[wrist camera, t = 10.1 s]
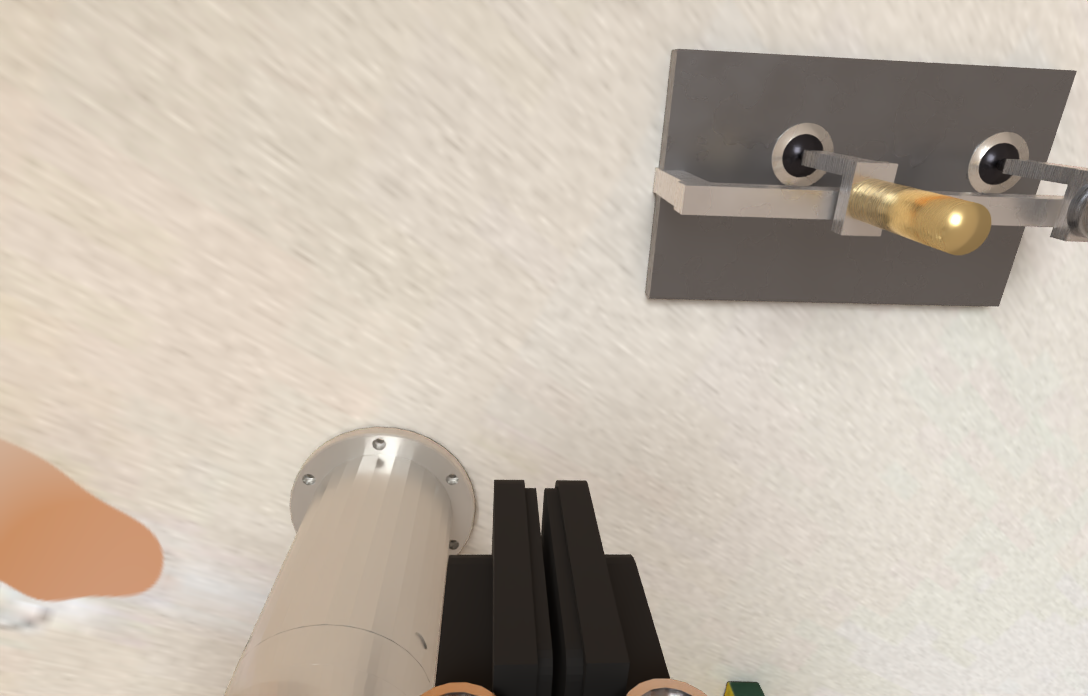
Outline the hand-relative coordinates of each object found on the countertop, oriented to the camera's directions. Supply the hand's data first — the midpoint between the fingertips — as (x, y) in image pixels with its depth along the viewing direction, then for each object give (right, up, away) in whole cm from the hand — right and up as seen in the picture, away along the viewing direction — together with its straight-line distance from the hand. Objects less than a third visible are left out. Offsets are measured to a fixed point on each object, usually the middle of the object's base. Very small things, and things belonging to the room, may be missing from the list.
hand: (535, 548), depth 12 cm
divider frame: (+18, +13, +27) cm, 35 cm away
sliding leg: (+15, +13, +25) cm, 32 cm away
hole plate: (+18, +13, +27) cm, 35 cm away
